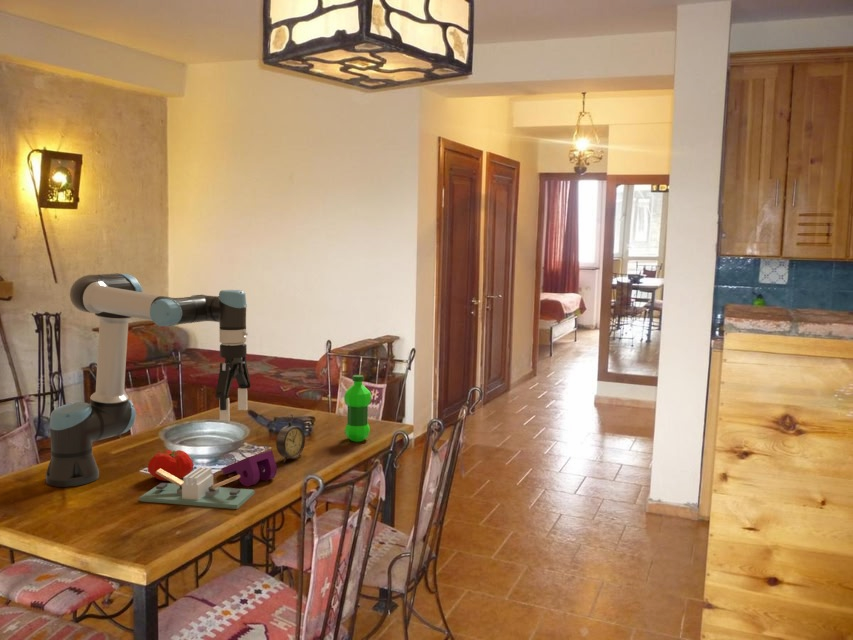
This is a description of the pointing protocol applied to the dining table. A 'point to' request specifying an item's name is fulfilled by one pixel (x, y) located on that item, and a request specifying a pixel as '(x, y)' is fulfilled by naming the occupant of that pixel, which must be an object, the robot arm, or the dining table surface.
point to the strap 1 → (170, 477)
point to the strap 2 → (224, 482)
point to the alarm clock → (290, 441)
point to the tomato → (171, 464)
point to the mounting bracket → (254, 468)
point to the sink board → (203, 501)
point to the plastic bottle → (357, 410)
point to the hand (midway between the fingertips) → (234, 415)
